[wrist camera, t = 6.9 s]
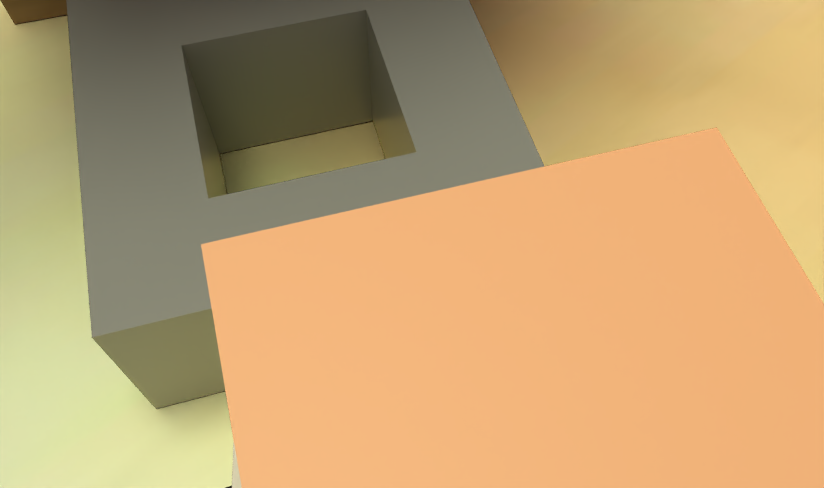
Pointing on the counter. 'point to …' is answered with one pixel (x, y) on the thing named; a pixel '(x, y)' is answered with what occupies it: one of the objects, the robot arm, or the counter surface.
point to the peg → (529, 335)
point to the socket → (257, 143)
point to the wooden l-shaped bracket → (34, 9)
